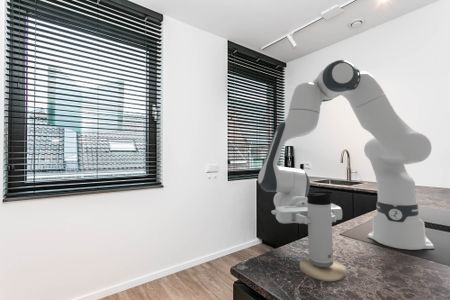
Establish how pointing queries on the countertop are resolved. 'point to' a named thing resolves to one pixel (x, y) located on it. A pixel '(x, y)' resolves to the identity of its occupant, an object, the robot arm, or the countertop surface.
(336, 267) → the gold round coaster
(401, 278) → the countertop surface
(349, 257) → the countertop surface
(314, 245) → the travel mug
